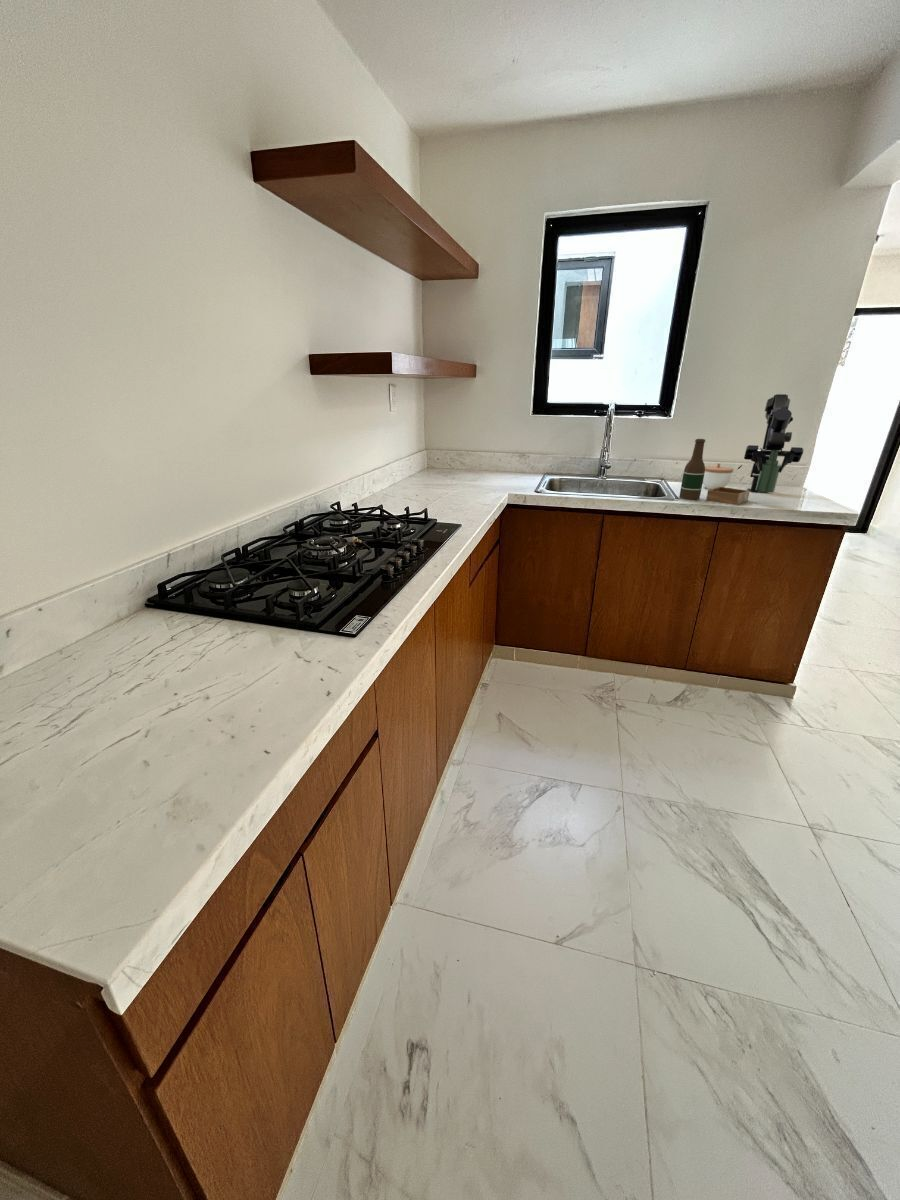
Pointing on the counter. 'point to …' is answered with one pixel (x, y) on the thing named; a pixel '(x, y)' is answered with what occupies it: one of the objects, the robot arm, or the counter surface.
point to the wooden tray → (728, 495)
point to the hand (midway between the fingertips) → (770, 471)
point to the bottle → (769, 474)
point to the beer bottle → (694, 474)
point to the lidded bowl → (716, 476)
